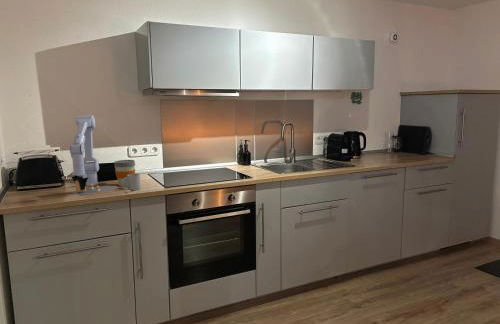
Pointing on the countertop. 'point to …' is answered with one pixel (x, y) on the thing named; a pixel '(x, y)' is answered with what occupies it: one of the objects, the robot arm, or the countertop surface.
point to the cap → (78, 187)
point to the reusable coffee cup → (124, 170)
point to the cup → (132, 182)
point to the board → (94, 190)
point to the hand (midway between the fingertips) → (80, 188)
